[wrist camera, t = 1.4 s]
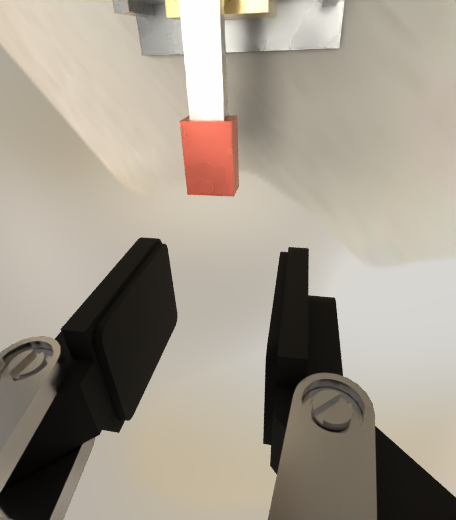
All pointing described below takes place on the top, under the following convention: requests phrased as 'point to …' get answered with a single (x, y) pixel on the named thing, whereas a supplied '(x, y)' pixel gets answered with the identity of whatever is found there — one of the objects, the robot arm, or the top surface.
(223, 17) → the valve lever
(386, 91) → the top surface
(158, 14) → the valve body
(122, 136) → the top surface
